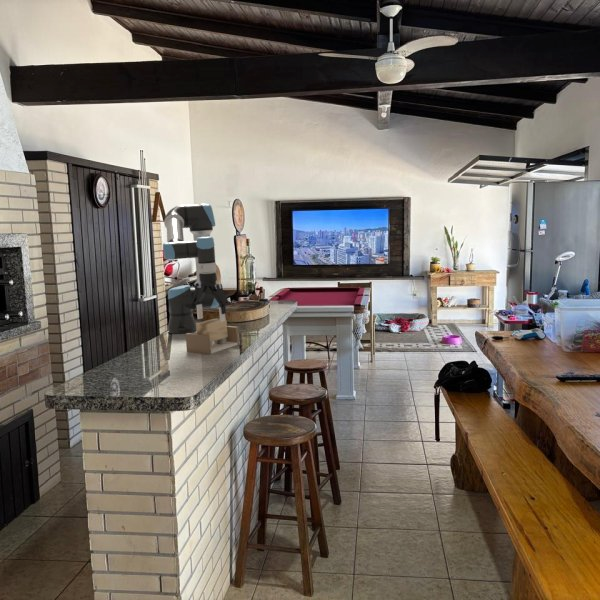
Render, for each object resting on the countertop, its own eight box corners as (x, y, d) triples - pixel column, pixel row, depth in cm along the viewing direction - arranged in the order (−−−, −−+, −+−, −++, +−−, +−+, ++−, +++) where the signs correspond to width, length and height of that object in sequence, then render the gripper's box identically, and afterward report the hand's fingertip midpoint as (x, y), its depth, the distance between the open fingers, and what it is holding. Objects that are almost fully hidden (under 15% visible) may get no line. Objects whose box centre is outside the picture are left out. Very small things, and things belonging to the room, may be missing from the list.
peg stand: (186, 351, 249) (185, 333, 248) (218, 341, 265) (217, 324, 264) (208, 354, 241) (207, 336, 240) (239, 344, 257) (238, 326, 256)
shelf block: (197, 341, 250) (196, 323, 248) (216, 335, 259) (214, 318, 258) (209, 342, 246) (207, 324, 244) (227, 336, 255) (226, 319, 254)
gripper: (181, 272, 252) (185, 319, 256) (223, 274, 238) (226, 324, 241) (193, 270, 258) (197, 316, 262) (234, 272, 244) (238, 320, 248)
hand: (211, 320), depth 252 cm, fingers open, 13 cm apart
